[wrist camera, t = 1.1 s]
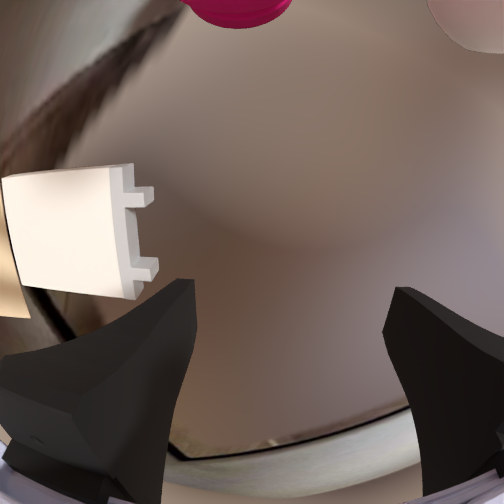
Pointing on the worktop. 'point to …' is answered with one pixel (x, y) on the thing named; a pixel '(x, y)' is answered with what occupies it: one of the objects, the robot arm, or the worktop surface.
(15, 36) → the worktop surface
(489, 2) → the foam cup
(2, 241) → the dock
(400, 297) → the robot arm
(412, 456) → the worktop surface
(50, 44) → the worktop surface
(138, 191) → the white tabbed block
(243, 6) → the pepper mill
